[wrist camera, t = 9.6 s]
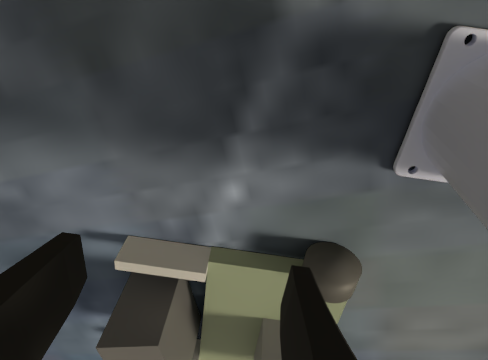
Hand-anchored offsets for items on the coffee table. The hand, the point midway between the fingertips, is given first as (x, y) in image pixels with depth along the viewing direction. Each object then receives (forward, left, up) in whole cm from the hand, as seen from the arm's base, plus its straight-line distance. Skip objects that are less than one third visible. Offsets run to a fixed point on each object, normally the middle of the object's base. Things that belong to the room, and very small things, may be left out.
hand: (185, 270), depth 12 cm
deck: (-2, +14, -10) cm, 17 cm away
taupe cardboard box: (+3, +14, -10) cm, 17 cm away
